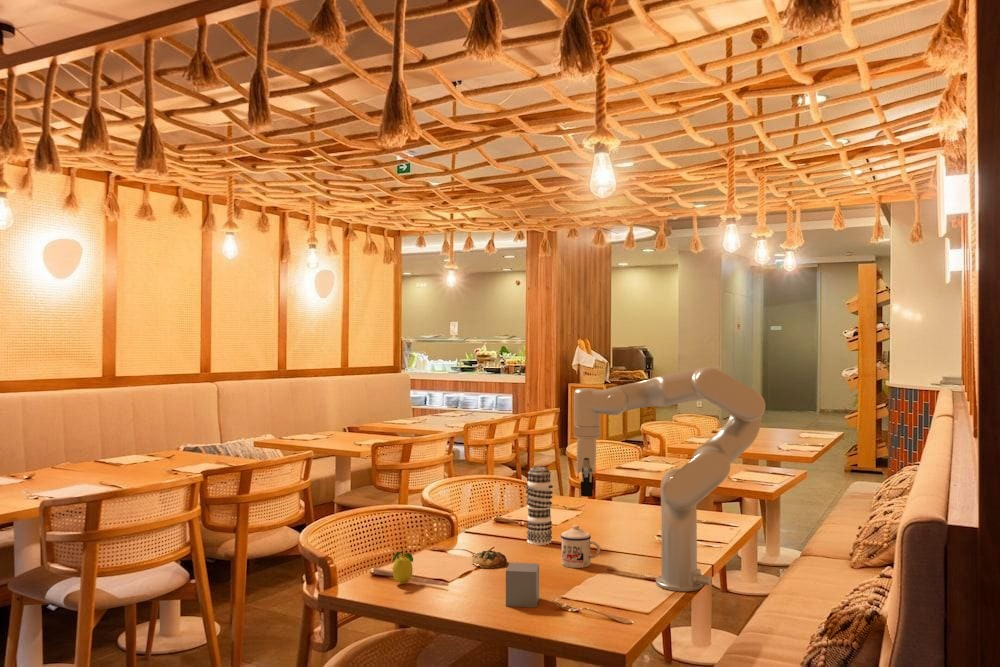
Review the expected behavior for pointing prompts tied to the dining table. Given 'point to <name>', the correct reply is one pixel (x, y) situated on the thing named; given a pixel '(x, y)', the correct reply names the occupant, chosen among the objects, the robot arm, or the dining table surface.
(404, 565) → the lemon
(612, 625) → the dining table surface
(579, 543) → the teacup with lid
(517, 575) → the upright gray block
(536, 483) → the decorative candle
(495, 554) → the bread roll
